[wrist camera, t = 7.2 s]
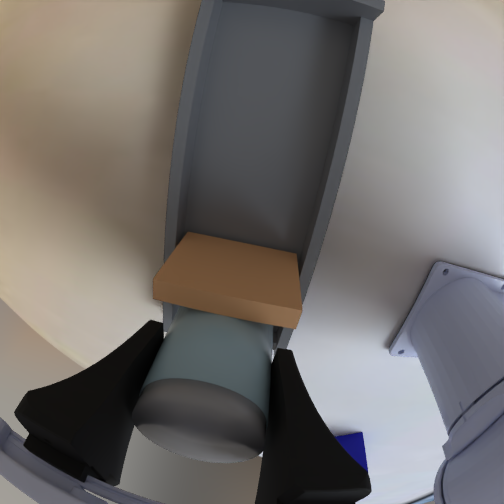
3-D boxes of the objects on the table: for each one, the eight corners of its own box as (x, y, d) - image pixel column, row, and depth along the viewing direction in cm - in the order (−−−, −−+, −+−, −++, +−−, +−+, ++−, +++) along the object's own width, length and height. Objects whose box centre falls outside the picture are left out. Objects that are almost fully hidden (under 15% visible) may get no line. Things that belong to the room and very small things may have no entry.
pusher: (296, 253, 15) (302, 310, 11) (292, 269, 16) (295, 329, 11) (187, 231, 15) (153, 279, 11) (186, 247, 16) (153, 298, 11)
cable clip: (322, 437, 26) (324, 483, 20) (362, 430, 25) (368, 476, 20) (324, 469, 31) (325, 504, 25) (355, 464, 30) (358, 499, 24)
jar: (288, 300, 14) (290, 427, 8) (254, 363, 16) (241, 471, 10) (190, 266, 14) (131, 380, 7) (173, 336, 16) (130, 438, 9)
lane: (370, 20, 10) (391, -2, 7) (286, 340, 19) (286, 377, 16) (211, -9, 10) (194, -36, 7) (167, 315, 19) (151, 348, 16)
